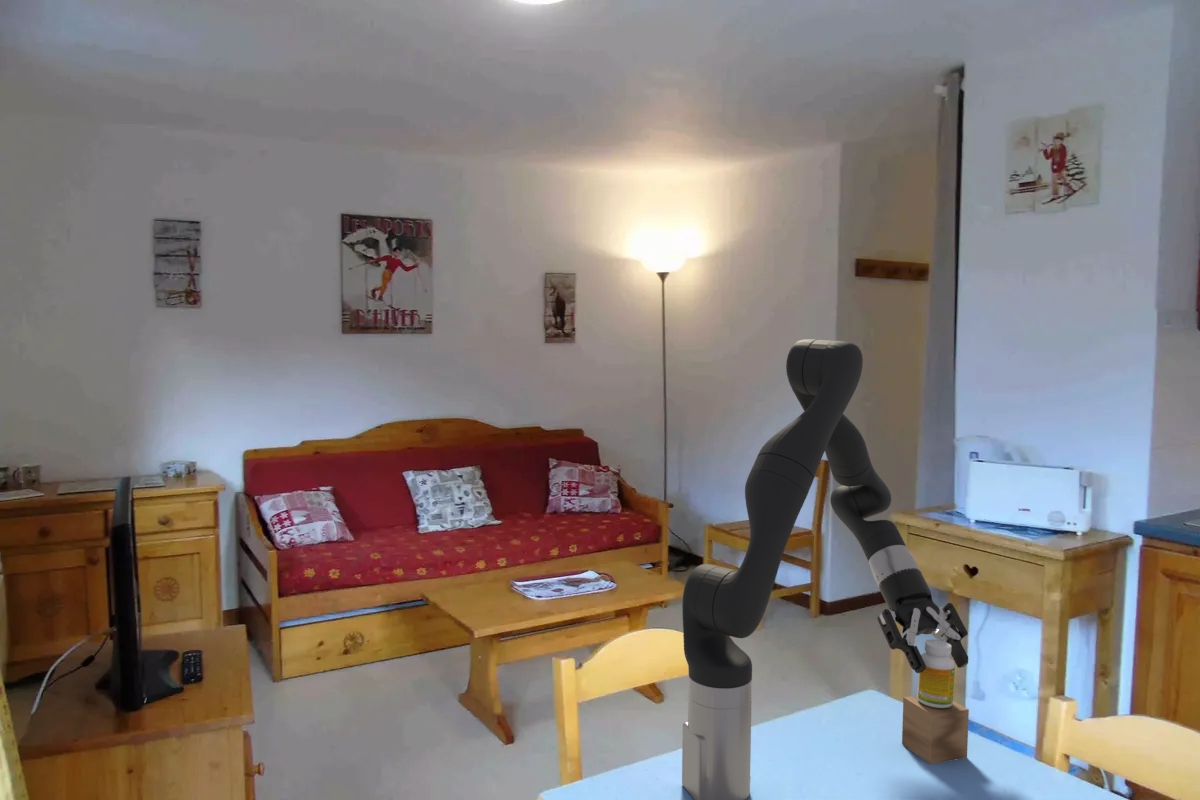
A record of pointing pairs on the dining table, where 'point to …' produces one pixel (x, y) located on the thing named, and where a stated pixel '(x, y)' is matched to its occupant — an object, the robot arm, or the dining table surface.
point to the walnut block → (935, 730)
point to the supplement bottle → (936, 675)
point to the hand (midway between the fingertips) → (942, 668)
